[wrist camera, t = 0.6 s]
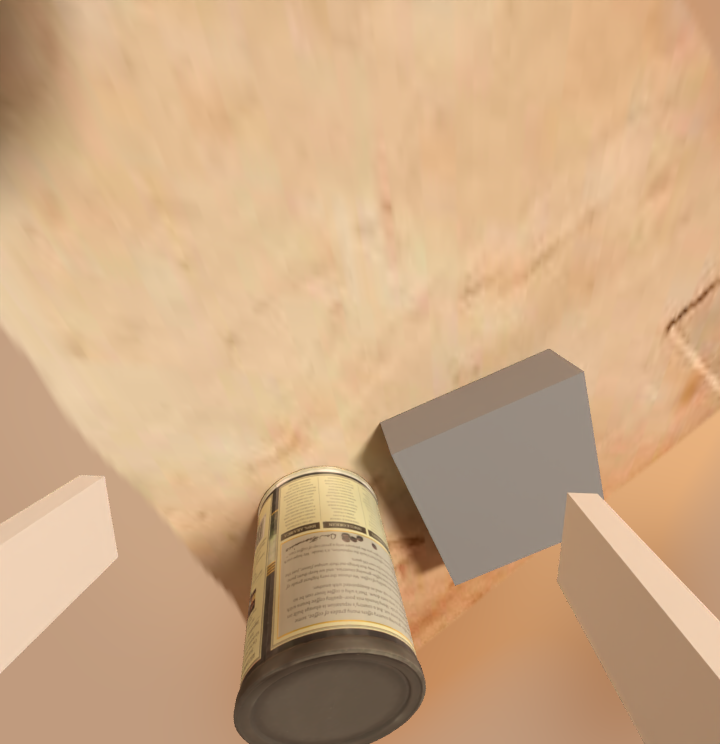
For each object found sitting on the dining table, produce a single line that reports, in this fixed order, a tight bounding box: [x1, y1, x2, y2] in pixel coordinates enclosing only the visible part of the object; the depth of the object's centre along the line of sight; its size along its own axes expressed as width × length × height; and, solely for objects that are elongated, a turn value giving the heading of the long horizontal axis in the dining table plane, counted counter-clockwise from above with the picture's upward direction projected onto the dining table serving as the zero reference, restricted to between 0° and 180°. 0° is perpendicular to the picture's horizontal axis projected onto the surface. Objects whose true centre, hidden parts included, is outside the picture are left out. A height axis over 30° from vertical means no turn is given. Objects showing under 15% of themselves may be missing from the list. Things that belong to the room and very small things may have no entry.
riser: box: [380, 349, 604, 586], centre depth 32 cm, size 16×14×4 cm
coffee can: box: [234, 466, 426, 744], centre depth 27 cm, size 10×10×14 cm
